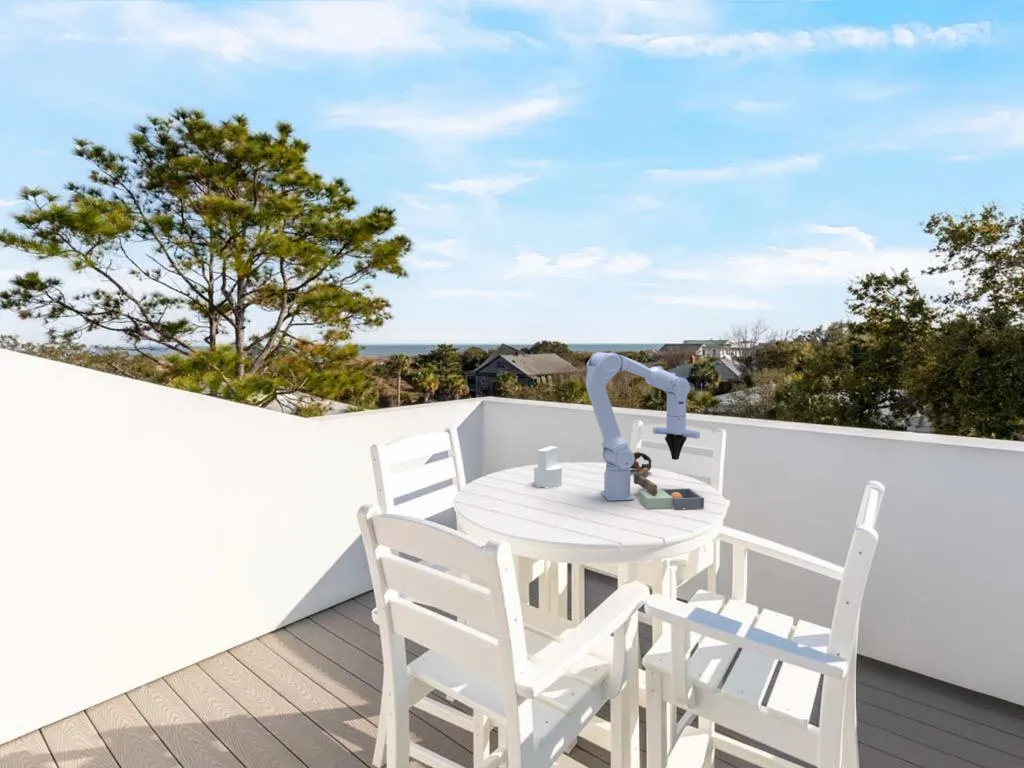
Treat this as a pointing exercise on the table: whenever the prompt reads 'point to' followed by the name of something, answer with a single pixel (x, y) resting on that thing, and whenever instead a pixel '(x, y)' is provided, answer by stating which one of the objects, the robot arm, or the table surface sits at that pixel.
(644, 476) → the flipper lever
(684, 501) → the tray
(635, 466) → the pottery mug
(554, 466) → the base with upright slab
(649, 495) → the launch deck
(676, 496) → the ball
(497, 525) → the table surface
